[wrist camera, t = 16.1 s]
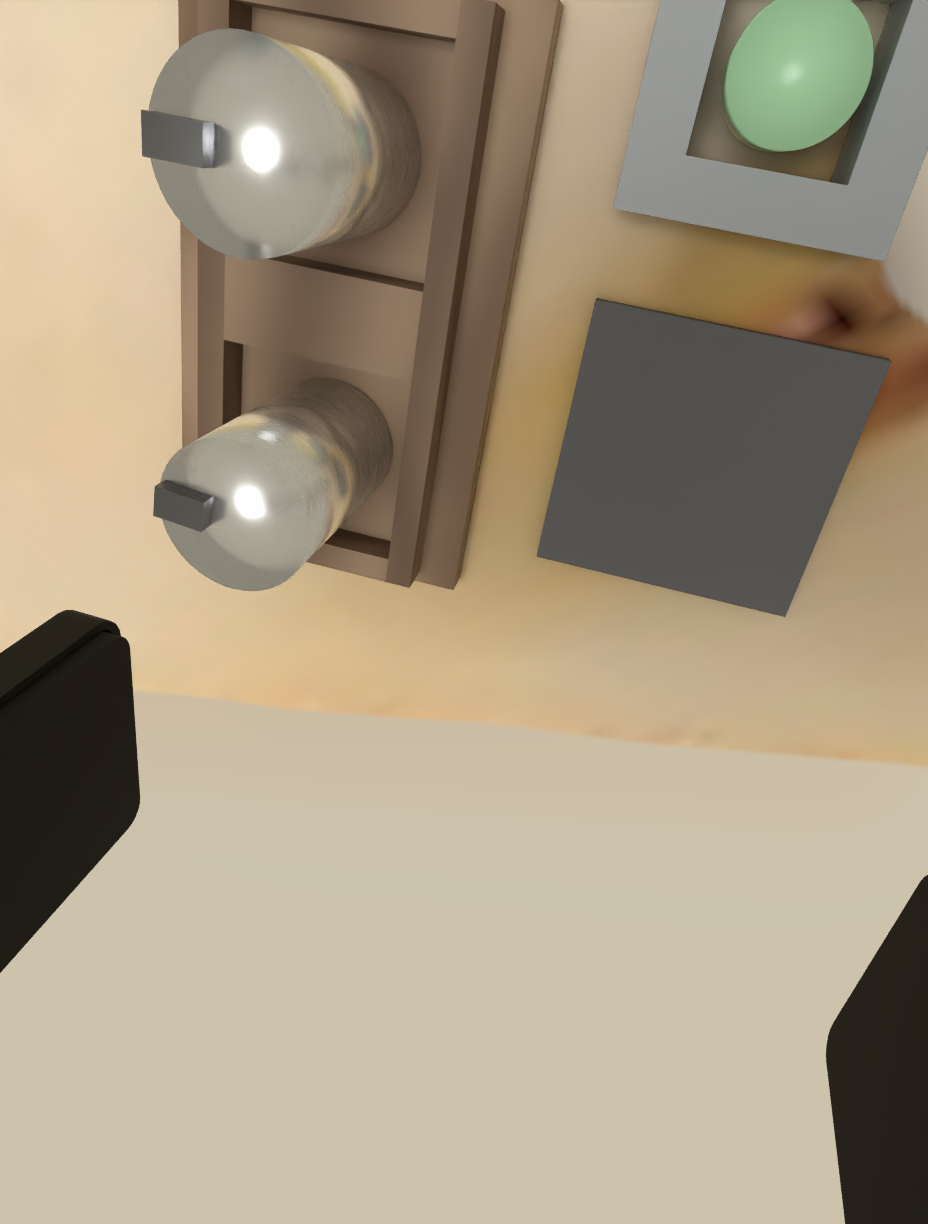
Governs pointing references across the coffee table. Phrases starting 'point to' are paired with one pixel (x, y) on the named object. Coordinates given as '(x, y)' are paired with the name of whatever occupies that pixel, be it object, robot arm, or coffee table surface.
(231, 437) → the silver rounded cylinder
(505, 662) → the coffee table surface
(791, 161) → the coffee table surface
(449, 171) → the brown cruet tray
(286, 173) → the cylinder
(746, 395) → the mat
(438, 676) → the coffee table surface
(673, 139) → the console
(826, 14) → the button
